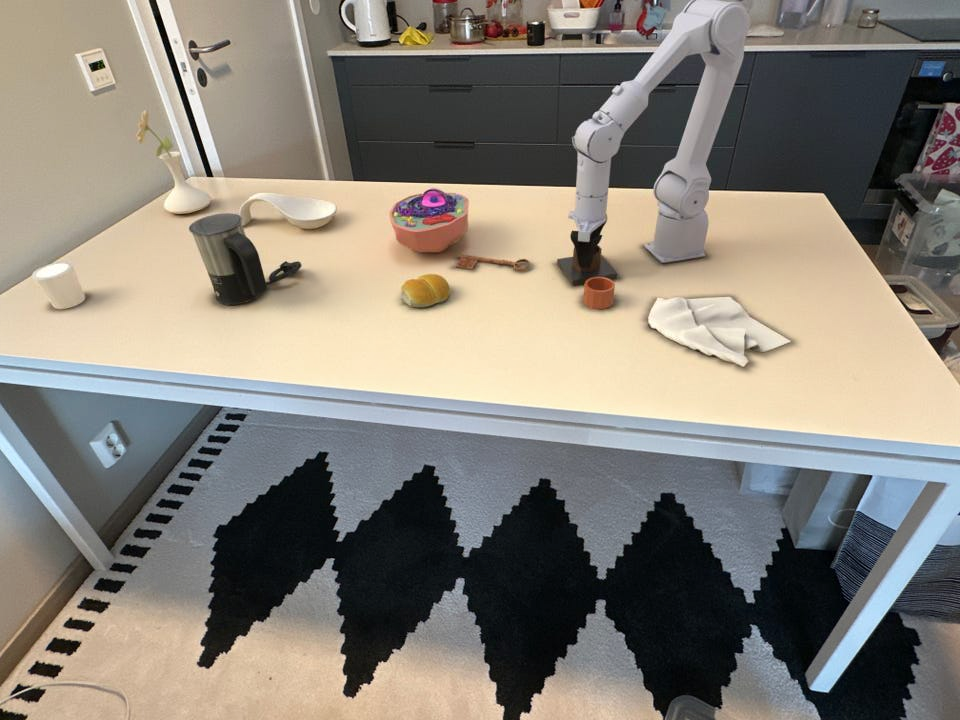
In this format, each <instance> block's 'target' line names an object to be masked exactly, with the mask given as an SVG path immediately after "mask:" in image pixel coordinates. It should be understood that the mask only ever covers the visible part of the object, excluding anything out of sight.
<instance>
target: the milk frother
mask: <svg viewBox="0 0 960 720" xmlns="http://www.w3.org/2000/svg"><path fill="white" fill-rule="evenodd" d="M241 222H242V217H241V216H240V215H239V214H237V213H234V212H233V213H231V212H223V213H215V214H210V215H206V216H204V217H201V218H198V219H196V220H195V221H194V222H192V223H191V224H190V225H189V227H188V231H189V232H190V233H191V234H192V236H193V239H194V242H195V244H196V248H197V249H198V252H199V254H200V257H201V260H202V262H203V264H204V267H205V270H206V271H207V274H208V277H209V280H210V282H211V285H212V288H213V292H214V294H215V295H214V297H215V300H216V302H218V303H219V304H222V305H225V306H227V305H228V306H233V305H241V304H244V303H248V302H250V301H252V300H255V299H257V298H258V297H260V296H261V295H262V294H264V293H266V292H267V291H268V286H270V285H272V284H275V283H277V282H280V281H282V280H283V279H284V280H285V279H286V278H288V277H290V276H292V275H293V274H295V273H297V272H298V270H300V269H301V268H302V266H303V265H302V262H301V261H293V262H288V261H283V262H282V263H281V264H280V265H279V267H278V268H276V269H275V270H274V271H272V272H271V273H270V274H269V276H268V280H269V281H266V277H265V273H264V270H263V266H262V263H261V259H260V254H259V251H258V250H257V248H256V246H255V244H254V243H253V242H252V241H251V239H250V238H249V237H247V235H246V232H245V229H244V225H242V223H241ZM281 272H283V273H281ZM278 274H279V275H278Z"/></svg>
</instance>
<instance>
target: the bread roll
mask: <svg viewBox="0 0 960 720" xmlns="http://www.w3.org/2000/svg"><path fill="white" fill-rule="evenodd" d="M450 291H451V290H450V285H449V282H448V281H447V280H446V278H445V277H443V276H441V275H439V274H436V273H429V274H428V273H427V274H423V275H420V276H418V277H417V278H411V279H408V280H405V282H404V283H403V284H402V286H401V291H400V298H401V299H402V301H403V302H404V303H405V304H406V305H408V306H409V307H412V308H427V307H430V306H433V305H435V304H439V303H443V302H444V301H446V300H447V299H448V297H449V295H450Z"/></svg>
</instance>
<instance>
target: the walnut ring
mask: <svg viewBox="0 0 960 720" xmlns="http://www.w3.org/2000/svg"><path fill="white" fill-rule="evenodd" d="M602 250H603V248H601V246H600V245H599V244H598V245H597V247H596V249H595V252H594V256H593V260H592V263H591V266H590V268H583V267H579V265H578V260H577V253H576V249H575V246H574V247H573V251H572V257H573V267H574V269H575V270H577V271H580V272H586V273H589V272H595V271H597V270H598V269H599V268H600V263H601V255H602Z"/></svg>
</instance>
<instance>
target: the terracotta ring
mask: <svg viewBox="0 0 960 720" xmlns="http://www.w3.org/2000/svg"><path fill="white" fill-rule="evenodd" d="M615 288H616V283H615V282H614V280H613V279H612V280H611V279H608V278H606V277H593V278H590V279H588V280H586V282H585V284H584V288H583V300H582V301H583V304H585V306H586V307H588V308H589V309H590V308H591V309H595V310H604V309H609V308H610V307H612V306H613V304H614V300H615V299H614V296H615V290H616V289H615Z"/></svg>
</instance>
